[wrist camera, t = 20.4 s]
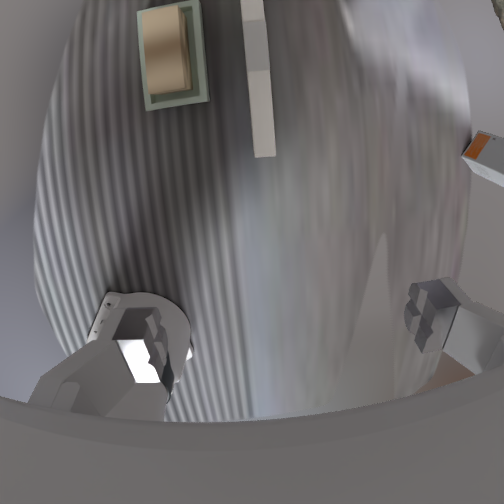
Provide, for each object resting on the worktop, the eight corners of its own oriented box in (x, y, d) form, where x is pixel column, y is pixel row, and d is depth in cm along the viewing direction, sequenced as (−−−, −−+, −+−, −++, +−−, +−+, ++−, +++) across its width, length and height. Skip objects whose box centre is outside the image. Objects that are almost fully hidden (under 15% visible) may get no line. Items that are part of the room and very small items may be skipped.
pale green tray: (210, 101, 36) (207, 101, 34) (152, 110, 36) (145, 111, 34) (201, 5, 30) (198, -1, 27) (143, 16, 30) (136, 11, 27)
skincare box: (477, 129, 37) (529, 145, 26) (490, 146, 38) (539, 166, 28) (459, 156, 39) (509, 177, 29) (472, 173, 40) (520, 197, 30)
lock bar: (155, 23, 30) (141, 12, 25) (186, 17, 30) (177, 4, 25) (162, 94, 35) (148, 94, 29) (193, 89, 35) (184, 87, 29)
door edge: (272, 149, 39) (276, 156, 34) (253, 150, 39) (254, 158, 34) (256, -33, 27) (257, -49, 23) (236, -32, 27) (235, -48, 23)
